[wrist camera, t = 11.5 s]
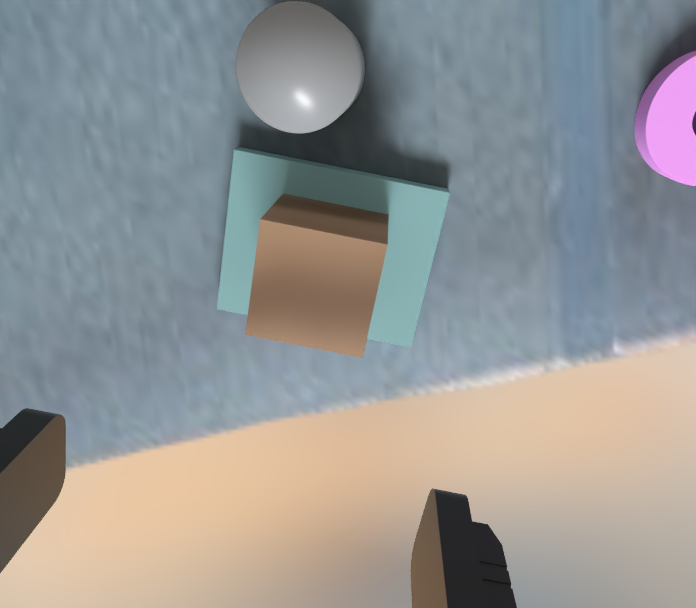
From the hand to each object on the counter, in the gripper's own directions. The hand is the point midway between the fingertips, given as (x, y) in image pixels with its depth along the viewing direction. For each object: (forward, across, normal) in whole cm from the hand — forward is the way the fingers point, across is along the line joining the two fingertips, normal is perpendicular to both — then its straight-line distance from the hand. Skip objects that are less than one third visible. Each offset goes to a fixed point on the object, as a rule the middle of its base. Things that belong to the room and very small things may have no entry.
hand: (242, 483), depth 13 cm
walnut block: (+17, 0, 0) cm, 17 cm away
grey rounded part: (+18, +2, -8) cm, 20 cm away
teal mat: (+18, 0, 0) cm, 18 cm away
